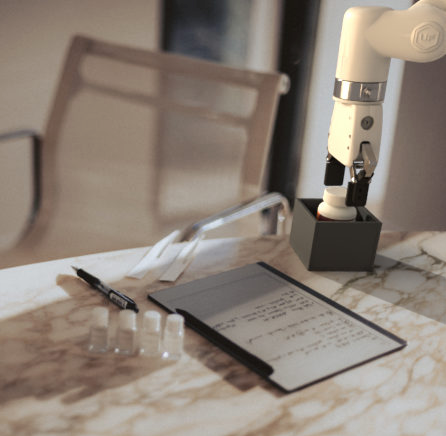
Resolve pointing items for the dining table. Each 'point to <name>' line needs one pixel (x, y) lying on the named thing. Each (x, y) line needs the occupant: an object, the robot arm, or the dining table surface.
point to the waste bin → (334, 239)
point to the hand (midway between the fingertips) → (343, 195)
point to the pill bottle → (335, 206)
